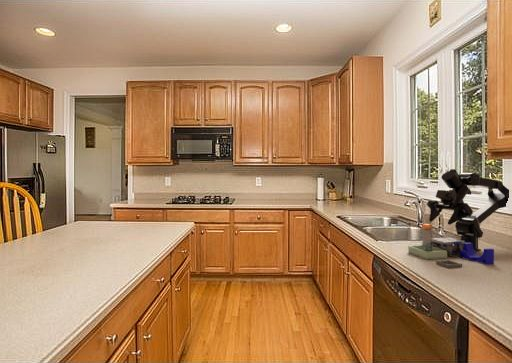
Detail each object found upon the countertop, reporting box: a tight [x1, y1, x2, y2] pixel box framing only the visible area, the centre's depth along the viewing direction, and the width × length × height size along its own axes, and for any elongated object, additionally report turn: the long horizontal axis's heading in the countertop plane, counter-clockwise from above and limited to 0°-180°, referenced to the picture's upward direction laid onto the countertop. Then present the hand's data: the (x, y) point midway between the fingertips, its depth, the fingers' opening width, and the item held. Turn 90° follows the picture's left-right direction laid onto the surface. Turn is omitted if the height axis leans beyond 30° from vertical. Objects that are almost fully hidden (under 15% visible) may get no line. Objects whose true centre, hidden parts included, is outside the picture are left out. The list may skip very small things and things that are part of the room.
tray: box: [407, 244, 448, 261], centre depth 142 cm, size 9×12×3 cm
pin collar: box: [435, 259, 463, 269], centre depth 127 cm, size 6×6×1 cm
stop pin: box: [421, 223, 433, 252], centre depth 142 cm, size 4×4×12 cm
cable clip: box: [459, 243, 495, 265], centre depth 134 cm, size 12×4×6 cm, turn 8°
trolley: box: [432, 236, 465, 257], centre depth 145 cm, size 13×12×6 cm
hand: (438, 222), depth 144 cm, fingers open, 9 cm apart
